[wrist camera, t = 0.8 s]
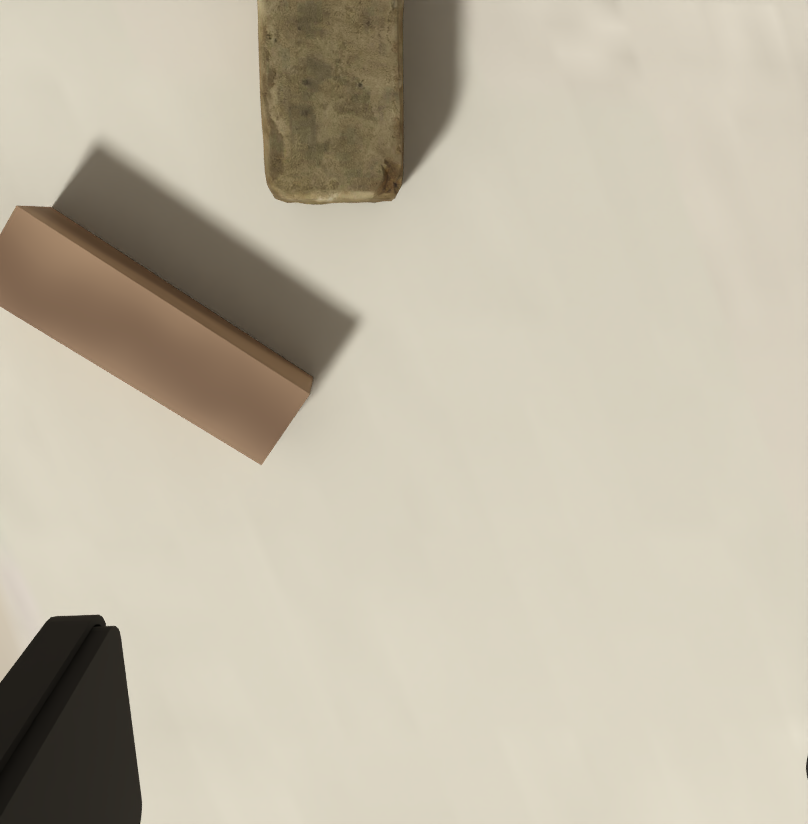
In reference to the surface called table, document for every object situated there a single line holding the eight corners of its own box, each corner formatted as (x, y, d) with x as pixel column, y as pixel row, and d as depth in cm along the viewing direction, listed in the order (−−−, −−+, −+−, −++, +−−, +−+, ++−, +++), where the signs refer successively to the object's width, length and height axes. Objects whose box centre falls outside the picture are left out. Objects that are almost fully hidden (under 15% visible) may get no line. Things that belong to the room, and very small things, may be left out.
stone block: (275, 206, 33) (263, 203, 28) (258, -77, 30) (241, -134, 25) (400, 205, 33) (409, 201, 29) (395, -75, 30) (404, -131, 26)
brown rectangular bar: (51, 207, 32) (16, 205, 29) (313, 377, 35) (309, 394, 32) (9, 281, 33) (-31, 288, 29) (269, 441, 36) (261, 465, 32)
